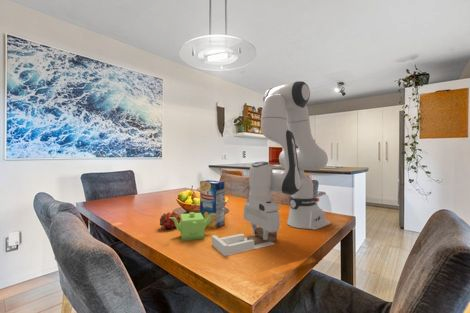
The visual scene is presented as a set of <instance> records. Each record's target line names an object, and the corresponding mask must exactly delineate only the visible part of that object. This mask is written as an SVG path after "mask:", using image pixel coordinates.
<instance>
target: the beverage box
mask: <svg viewBox="0 0 470 313" xmlns="http://www.w3.org/2000/svg"><path fill="white" fill-rule="evenodd" d="M225 185H226V182H225V181H221V180H214V179H213V180H211V179H208V180H207V179H206V180H201V181H199V213H201V214H202V216H203V218H204V219H205V220H206V219H207V218H208V217H211V220H210V221H209V223H208V225H207V226H206V227H210V228H213V229H218V228H221V227H222V226H225V225H226V222H225V221H226V210H225V208H226V204H225V203H226V202H225V201H226V200H225V199H226V194H225V193H226V189H225V187H226V186H225Z"/></svg>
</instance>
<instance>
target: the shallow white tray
mask: <svg viewBox="0 0 470 313" xmlns="http://www.w3.org/2000/svg"><path fill="white" fill-rule="evenodd" d="M272 245H275V243H274V241H269V242H265V243H260V244H256V245H254V240H247V237H245V234H244V233H240V234H233V235H228V236H223V237H218V235H216V234H214V235H211V246H212V247H214V249H215V250H217V251H218V252H219V253H220V255H222V256H224V257H226V256H227V257H228V256H230V255H231V256H232V255H235V254H239V253H243V252H249V251H251V250H256V249H260V248H264V247H269V246H272Z"/></svg>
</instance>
